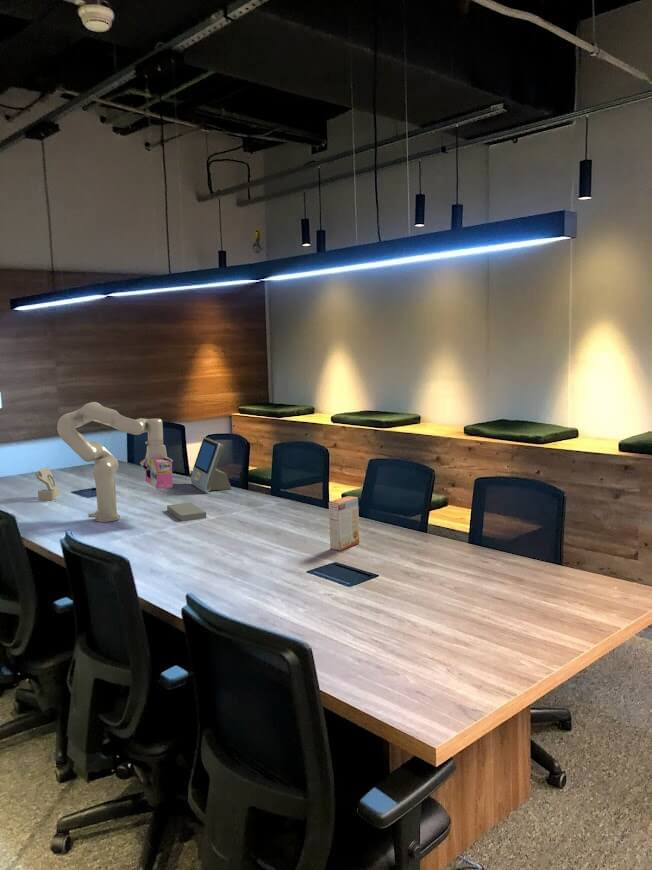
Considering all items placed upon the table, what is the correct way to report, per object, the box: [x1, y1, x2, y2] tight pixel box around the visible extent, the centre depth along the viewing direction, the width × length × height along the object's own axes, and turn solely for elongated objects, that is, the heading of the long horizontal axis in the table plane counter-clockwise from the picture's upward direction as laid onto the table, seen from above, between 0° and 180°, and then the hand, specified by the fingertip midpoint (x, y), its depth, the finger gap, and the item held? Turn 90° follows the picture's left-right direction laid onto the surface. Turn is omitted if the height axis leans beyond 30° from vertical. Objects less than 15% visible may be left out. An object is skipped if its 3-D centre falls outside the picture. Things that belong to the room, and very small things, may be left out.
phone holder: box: [34, 467, 62, 501], centre depth 422 cm, size 17×10×18 cm, turn 178°
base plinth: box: [166, 501, 207, 522], centre depth 375 cm, size 13×27×3 cm, turn 28°
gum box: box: [144, 455, 173, 490], centre depth 364 cm, size 24×8×14 cm, turn 29°
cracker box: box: [328, 495, 360, 552], centre depth 309 cm, size 14×6×21 cm, turn 141°
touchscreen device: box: [190, 437, 232, 494], centre depth 443 cm, size 35×20×30 cm, turn 25°
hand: (157, 476), depth 366 cm, fingers closed on gum box, 8 cm apart
